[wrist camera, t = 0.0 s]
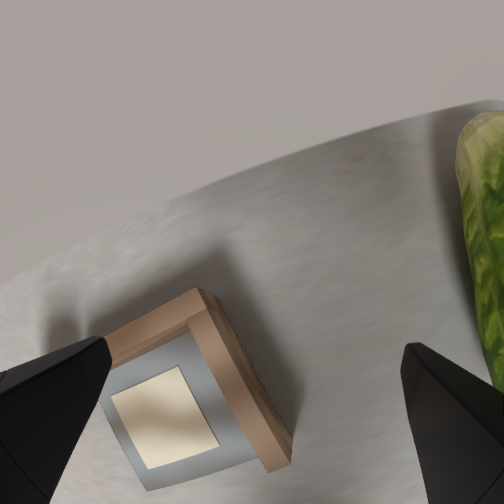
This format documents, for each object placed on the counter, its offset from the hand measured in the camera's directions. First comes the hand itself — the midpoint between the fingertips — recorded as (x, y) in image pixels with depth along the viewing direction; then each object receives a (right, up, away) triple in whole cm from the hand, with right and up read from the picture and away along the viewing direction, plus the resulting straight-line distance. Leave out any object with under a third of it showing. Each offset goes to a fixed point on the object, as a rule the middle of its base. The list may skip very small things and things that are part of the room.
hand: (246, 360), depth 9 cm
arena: (-6, -9, +14) cm, 18 cm away
